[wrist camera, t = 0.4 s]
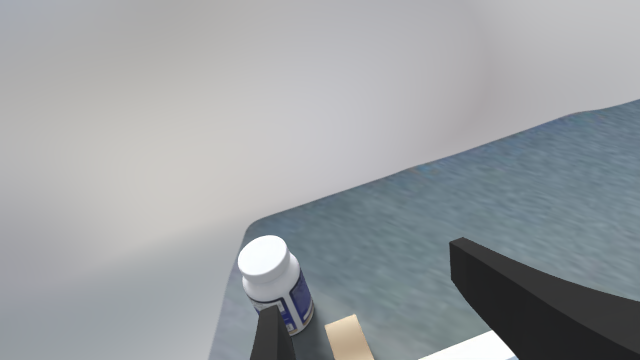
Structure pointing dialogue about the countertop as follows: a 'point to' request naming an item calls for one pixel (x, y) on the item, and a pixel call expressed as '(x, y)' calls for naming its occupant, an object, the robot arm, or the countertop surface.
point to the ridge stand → (476, 350)
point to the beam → (348, 340)
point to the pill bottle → (276, 281)
